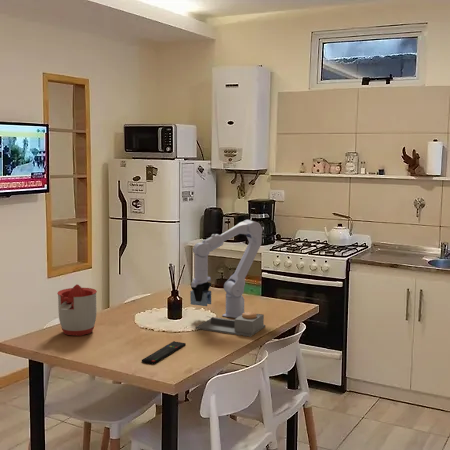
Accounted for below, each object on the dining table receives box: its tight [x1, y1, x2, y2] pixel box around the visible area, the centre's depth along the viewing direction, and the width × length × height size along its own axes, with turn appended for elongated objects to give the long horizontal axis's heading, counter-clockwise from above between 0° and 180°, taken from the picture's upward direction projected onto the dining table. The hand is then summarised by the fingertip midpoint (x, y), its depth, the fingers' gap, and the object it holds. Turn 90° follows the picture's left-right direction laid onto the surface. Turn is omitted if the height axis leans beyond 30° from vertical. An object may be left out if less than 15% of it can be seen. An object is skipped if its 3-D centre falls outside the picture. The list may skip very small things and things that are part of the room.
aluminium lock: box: [189, 289, 212, 307], centre depth 276 cm, size 5×8×7 cm, turn 64°
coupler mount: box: [195, 311, 266, 338], centre depth 263 cm, size 16×25×7 cm, turn 64°
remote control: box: [141, 340, 186, 365], centre depth 230 cm, size 5×24×1 cm, turn 156°
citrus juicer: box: [57, 284, 98, 337], centre depth 253 cm, size 16×17×20 cm
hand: (201, 300), depth 276 cm, fingers closed on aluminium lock, 5 cm apart
